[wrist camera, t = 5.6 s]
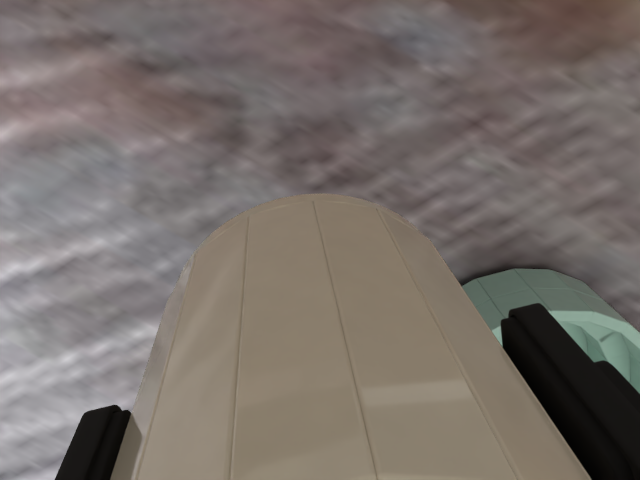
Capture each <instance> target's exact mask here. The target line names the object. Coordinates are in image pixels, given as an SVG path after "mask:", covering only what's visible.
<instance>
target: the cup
mask: <svg viewBox="0 0 640 480" xmlns="http://www.w3.org/2000/svg"><path fill="white" fill-rule="evenodd" d="M110 480H593V479H592V478H591V476H590V475H589V474H588V472H587V471H586V469H585V468H584V466H583V465H582V463H581V462H580V460H579V459H578V457H577V456H576V454H575V453H574V451H573V450H572V448H571V447H570V445H569V444H568V442H567V441H566V440H565V438H564V437H563V435H562V434H561V432H560V431H559V429H558V428H557V426H556V425H555V423H554V422H553V420H552V419H551V417H550V416H549V414H548V413H547V411H546V410H545V408H544V407H543V406H542V404H541V403H540V401H539V400H538V398H537V397H536V395H535V394H534V392H533V391H532V389H531V388H530V386H529V385H528V383H527V382H526V380H525V379H524V377H523V376H522V374H521V373H520V372H519V370H518V369H517V367H516V366H515V364H514V363H513V361H512V360H511V358H510V357H509V355H508V354H507V352H506V351H505V349H504V348H503V346H502V345H501V343H500V342H499V340H498V339H497V338H496V336H495V335H494V333H493V332H492V330H491V329H490V327H489V326H488V324H487V323H486V321H485V320H484V318H483V317H482V315H481V314H480V312H479V311H478V309H477V308H476V307H475V305H474V304H473V302H472V301H471V299H470V298H469V296H468V295H467V293H466V292H465V290H464V289H463V287H462V286H461V284H460V283H459V281H458V280H457V278H456V277H455V276H454V274H453V273H452V271H451V270H450V268H449V267H448V265H447V264H446V262H445V261H444V259H443V258H442V257H441V255H440V254H439V252H438V251H437V249H436V248H435V246H434V245H433V243H432V242H431V240H429V239H428V238H427V237H426V236H425V235H424V234H423V233H422V232H421V231H420V230H418V229H417V228H416V227H415V226H414V225H413V224H412V223H410V222H409V221H407V220H406V219H404V218H403V217H401V216H400V215H399V214H397V213H395V212H393V211H391V210H389V209H387V208H385V207H383V206H381V205H378V204H375V203H372V202H369V201H366V200H363V199H359V198H354V197H349V196H344V195H335V194H303V195H296V196H290V197H284V198H279V199H276V200H273V201H270V202H266V203H263V204H260V205H258V206H255V207H253V208H251V209H249V210H247V211H244V212H242V213H240V214H239V215H237V216H235V217H234V218H232V219H231V220H229V221H227V222H226V223H224V224H223V225H222V226H220V227H219V228H218V229H217V230H215V231H214V232H213V233H212V234H211V235H209V236H208V237H207V238H206V239H205V240H204V242H203V243H202V244H201V245H200V246H199V247H198V248H197V249H196V250H195V251H194V253H193V254H192V256H191V257H190V259H189V260H188V262H187V263H186V264H185V266H184V268H183V270H182V272H181V274H180V276H179V278H178V280H177V282H176V285H175V288H174V290H173V292H172V294H171V295H170V297H169V299H168V301H167V304H166V307H165V310H164V313H163V316H162V319H161V322H160V326H159V329H158V332H157V335H156V338H155V341H154V344H153V347H152V350H151V354H150V357H149V360H148V363H147V366H146V369H145V372H144V375H143V379H142V382H141V385H140V388H139V391H138V394H137V397H136V400H135V404H134V407H133V410H132V413H131V416H130V419H129V422H128V425H127V428H126V432H125V435H124V438H123V441H122V444H121V447H120V450H119V453H118V457H117V460H116V463H115V466H114V469H113V472H112V475H111V478H110Z"/></svg>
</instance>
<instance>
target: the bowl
mask: <svg viewBox="0 0 640 480" xmlns="http://www.w3.org/2000/svg"><path fill="white" fill-rule="evenodd" d="M462 287H463V289H464V290H465V292H466V293H467V295H468V296H469V298H470V299H471V301H472V302H473V304H474V305H475V307H476V308H477V309H478V311H479V312H480V314H481V315H482V317H483V318H484V320H485V321H486V323H487V324H488V326H489V327H490V329H491V330H492V332H493V333H494V335H495V336H496V338H497V339H498V340H499V342H500V343H501V345H502V335H501V320H502V319H505V318H508V314H509V310H510V309H514V308H518V307H523V306H527V305H531V304H535V303H541V304H542V305H543V306H544V307H545V308H546V309H547V311H548V312H549V313H550V314H551V315H552V316H553V317H554V318H555V319H556V321H557V322H558V323H559V324H560V325H561V326H562V327H563V328H564V329H565V331H566V332H567V333H568V334H569V335H570V336H571V337H572V338H573V339H574V341H575V342H576V343H577V344H578V345H579V346H580V347H581V348H582V350H583V351H584V352H585V353H586V354H587V355H588V356H589V357H590V358H591V360H592V361H593V362H597V361H601V360H604V361H607V362H609V363H610V364H612V365H613V366H614V367H615V368H616V369H617V370H618V371H619V372H620V373H621V374H622V375H623V376H624V377H625V379H626V380H627V381H628V382H629V383H630V384H631V385H632V386H633V387H634V388H635V389H636V390H637V391H638V392H639V393H640V332H639V331H638V330H637V329H635V328H634V327H633V326H632V325H631V324H630V323H629V322H628V321H627V320H626V319H624V318H623V317H622V316H621V315H620V314H619V313H618V312H617V311H616V310H614V309H613V308H612V307H611V306H610V305H609V304H608V303H607V302H606V301H604V300H603V299H602V298H601V297H600V296H599V295H598V294H597V293H595V292H594V291H593V290H592V289H591V288H590V287H589V286H588V285H586V284H585V283H584V282H582V281H581V280H578V279H575V278H572V277H570V276H567V275H564V274H561V273H559V272H556V271H553V270H550V269H511V270H507V271H503V272H499V273H495V274H491V275H488V276H484V277H480V278H477V279H474V280H472V281H470V282H468V283H466V284H465V285H463V286H462ZM502 346H503V345H502Z"/></svg>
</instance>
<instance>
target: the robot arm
mask: <svg viewBox="0 0 640 480" xmlns="http://www.w3.org/2000/svg"><path fill="white" fill-rule="evenodd" d="M501 335H502V345H503V348H504V349H505V351H506V352H507V354H508V355H509V357H510V358H511V360H512V361H513V363H514V364H515V366H516V367H517V369H518V370H519V372H520V373H521V374H522V376H523V377H524V379H525V380H526V382H527V383H528V385H529V386H530V388H531V389H532V391H533V392H534V394H535V395H536V397H537V398H538V400H539V401H540V403H541V404H542V406H543V407H544V408H545V410H546V411H547V413H548V414H549V416H550V417H551V419H552V420H553V422H554V423H555V425H556V426H557V428H558V429H559V431H560V432H561V434H562V435H563V437H564V438H565V440H566V441H567V442H568V444H569V445H570V447H571V448H572V450H573V451H574V453H575V454H576V456H577V457H578V459H579V460H580V462H581V463H582V465H583V466H584V468H585V469H586V471H587V472H588V474H589V475H590V476H591V478H592V479H593V480H640V393H639V392H638V391H637V390H636V389H635V388H634V387H633V386H632V385H631V384H630V383H629V382H628V381H627V380H626V379H625V377H624V376H623V375H622V374H621V373H620V372H619V371H618V370H617V369H616V368H615V367H614V366H613V365H612V364H610V363H609V362H607V361H604V360H601V361H597V362H593V361H592V360H591V358H590V357H589V356H588V355H587V354H586V353H585V352H584V351H583V350H582V348H581V347H580V346H579V345H578V344H577V343H576V342H575V341H574V339H573V338H572V337H571V336H570V335H569V334H568V333H567V332H566V331H565V329H564V328H563V327H562V326H561V325H560V324H559V323H558V322H557V321H556V319H555V318H554V317H553V316H552V315H551V314H550V313H549V312H548V311H547V309H546V308H545V307H544V306H543V305H542V304H541V303H535V304H531V305H527V306H523V307H518V308H514V309H510V310H509V314H508V318H505V319H502V320H501ZM130 416H131V412H130V411H128V410H124V411H122V410H121V409H120V407H118V406H117V405H112V406H108V407H104V408H99V409H95V410H91V411H87V412H86V413H84V415H83V416H82V418H81V420H80V423H79V425H78V427H77V430H76V432H75V434H74V437H73V439H72V441H71V444H70V446H69V448H68V450H67V453H66V455H65V457H64V460H63V462H62V464H61V467H60V469H59V471H58V474H57V476H56V478H55V480H110V478H111V475H112V472H113V469H114V466H115V463H116V460H117V457H118V453H119V450H120V447H121V444H122V441H123V438H124V435H125V432H126V428H127V425H128V422H129V419H130Z"/></svg>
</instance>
